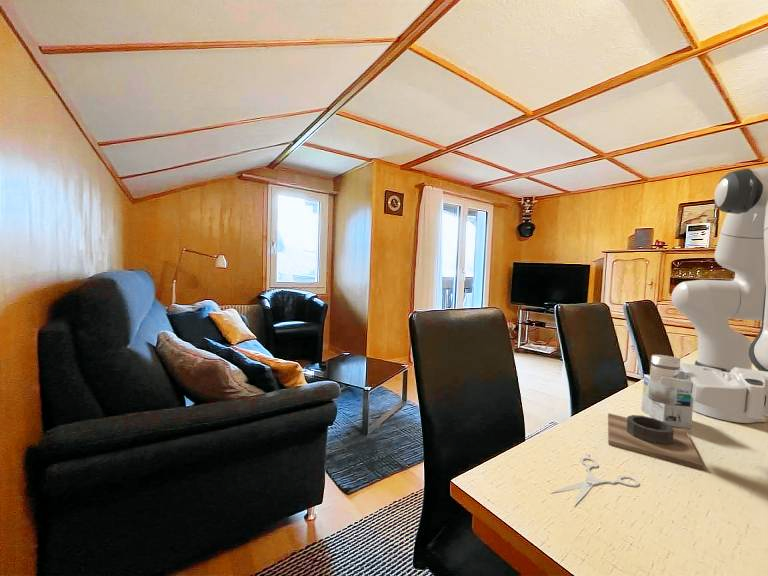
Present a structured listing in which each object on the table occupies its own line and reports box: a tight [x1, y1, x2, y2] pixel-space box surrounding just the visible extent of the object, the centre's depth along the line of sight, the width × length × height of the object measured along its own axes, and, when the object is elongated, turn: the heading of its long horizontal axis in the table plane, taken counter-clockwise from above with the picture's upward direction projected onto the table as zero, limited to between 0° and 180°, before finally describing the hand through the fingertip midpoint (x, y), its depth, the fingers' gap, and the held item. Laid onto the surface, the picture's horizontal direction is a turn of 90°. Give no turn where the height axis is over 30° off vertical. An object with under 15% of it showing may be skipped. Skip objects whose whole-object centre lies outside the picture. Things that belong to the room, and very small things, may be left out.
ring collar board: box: [607, 412, 704, 471], centre depth 79 cm, size 18×16×4 cm
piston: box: [648, 354, 681, 405], centre depth 75 cm, size 5×5×10 cm
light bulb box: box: [640, 374, 694, 429], centre depth 91 cm, size 11×7×11 cm, turn 168°
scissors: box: [551, 452, 640, 507], centre depth 62 cm, size 11×1×20 cm
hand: (658, 375), depth 75 cm, fingers closed on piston, 5 cm apart
